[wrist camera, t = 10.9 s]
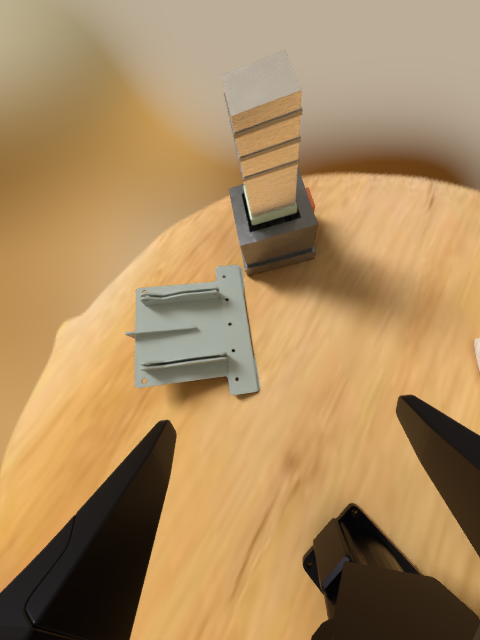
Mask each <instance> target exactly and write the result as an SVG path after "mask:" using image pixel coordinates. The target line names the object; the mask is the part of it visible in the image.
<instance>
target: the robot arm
mask: <svg viewBox="0 0 480 640" xmlns="http://www.w3.org/2000/svg"><path fill="white" fill-rule="evenodd" d="M396 414H397V417H398V419H399V421H400V423H401V425H402V427H403V429H404V431H405V433H406V435H407V437H408V439H409V441H410V443H411V445H412V447H413V449H414V451H415V453H416V455H417V457H418V459H419V460H420V462H421V464H422V466H423V467H424V469H425V471H426V472H427V474H428V475H429V477H430V479H431V480H432V482H433V483H434V485H435V487H436V488H437V490H438V491H439V493H440V495H441V496H442V498H443V499H444V501H445V503H446V504H447V506H448V507H449V509H450V511H451V512H452V514H453V515H454V517H455V519H456V520H457V522H458V523H459V525H460V527H461V528H462V530H463V531H464V533H465V535H466V536H467V538H468V539H469V541H470V543H471V544H472V546H473V547H474V549H475V551H476V552H477V554H478V555H479V557H480V435H478V434H476V433H475V432H473V431H471V430H470V429H468V428H466V427H465V426H463V425H462V424H460V423H458V422H457V421H455V420H453V419H452V418H450V417H448V416H447V415H445V414H444V413H442V412H440V411H439V410H437V409H435V408H434V407H432V406H430V405H429V404H427V403H426V402H424V401H422V400H421V399H419V398H417V397H416V396H414V395H401V396H399V397H398V402H397V407H396ZM175 443H176V431H175V429H174V427H173V425H172V424H171V422H170V421H169V420H162V421H159V422H158V423H157V424H156V425H155V426H154V427H153V428H152V429H151V431H150V432H149V433H148V434H147V435H146V436H145V437H144V438H143V439H142V441H141V442H140V443H139V444H138V445H137V446H136V447H135V448H134V449H133V451H132V452H131V453H130V454H129V455H128V456H127V457H126V458H125V459H124V461H123V462H122V463H121V464H120V465H119V466H118V467H117V468H116V469H115V471H114V472H113V473H112V474H111V475H110V476H109V477H108V478H107V480H106V481H105V482H104V483H103V484H102V485H101V486H100V487H99V488H98V490H97V491H96V492H95V493H94V494H93V495H92V496H91V497H90V498H89V500H88V501H87V502H86V503H85V504H84V505H83V506H82V507H81V508H80V510H79V511H78V512H77V513H76V515H74V516H73V517H72V518H71V520H70V521H69V522H68V523H67V524H66V525H65V526H64V527H63V528H62V529H61V531H60V532H59V533H58V534H57V535H56V536H55V537H54V538H53V539H52V540H51V541H50V543H49V544H48V545H47V546H46V547H45V548H44V549H43V550H42V551H41V552H40V553H39V554H38V555H37V556H36V557H35V558H34V559H33V560H32V561H31V562H30V563H29V564H28V565H27V567H26V568H25V569H24V570H23V571H22V572H21V573H20V574H19V575H18V576H17V577H16V578H15V579H14V580H13V581H12V582H11V583H10V584H9V585H8V586H7V587H6V588H5V589H4V590H3V591H2V592H1V593H0V640H130V636H131V632H132V628H133V624H134V620H135V616H136V612H137V608H138V604H139V600H140V596H141V592H142V588H143V584H144V580H145V576H146V572H147V568H148V564H149V560H150V556H151V552H152V548H153V544H154V540H155V536H156V532H157V528H158V524H159V520H160V516H161V512H162V508H163V504H164V500H165V496H166V492H167V488H168V484H169V479H170V475H171V469H172V462H173V456H174V449H175ZM352 510H357V513H356V514H353V513H352ZM307 562H311V563H312V565H310V566H309V565H307V564H306V563H307ZM303 568H304V570H305V571H306V572H307V574H308V575H309V576H310V578H311V579H312V580H313V582H314V583H315V584H316V586H317V587H318V588H319V590H320V591H321V592H322V594H323V595H324V598H325V603H326V609H327V615H328V620H327V621H325V622H323V623H322V624H321V625H320V627H319V628H318V629H317V631H316V632H315V633H314V634H313V636H312V638H311V640H480V620H479V617H478V616H477V615H476V614H475V613H474V612H473V611H472V610H471V609H469V608H468V607H467V606H466V605H465V604H464V603H463V602H462V601H460V600H459V599H458V598H457V597H456V596H455V595H454V594H453V593H451V592H450V591H449V590H448V589H447V588H446V587H445V586H444V585H442V584H441V583H440V582H439V581H438V580H436V579H435V578H433V577H429V576H424V575H422V574H421V573H420V572H419V571H418V570H417V569H416V568H415V567H414V566H413V565H412V564H411V562H410V561H409V560H408V559H407V558H406V557H405V556H404V555H403V554H402V553H401V552H400V551H399V550H398V549H397V547H396V546H395V545H394V544H393V543H392V542H391V541H390V540H389V539H388V538H387V537H386V536H385V535H384V534H383V532H382V531H381V530H380V529H379V528H378V527H377V526H376V525H375V524H374V523H373V522H372V521H371V520H370V518H369V517H368V516H367V515H366V514H365V513H364V512H363V511H362V510H361V509H360V508H359V507H358V506H357V505H356V504H354V503H350V504H349V505H348V506H347V507H346V508H345V509H344V510H343V512H342V513H341V514H340V515H339V516H338V517H337V518H333V519H332V520H331V521H330V522H329V523H328V524H327V525H326V526H325V528H324V529H323V530H322V531H321V532H320V533H319V534H318V536H317V537H316V538H315V539H314V540H313V546H312V547H311V548H310V549H309V550H308V551H307V553H306V554H305V555H304V556H303Z"/></svg>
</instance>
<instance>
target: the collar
mask: <svg viewBox="0 0 480 640" xmlns="http://www.w3.org/2000/svg"><path fill="white" fill-rule="evenodd" d="M243 186H244V184H242V185H239V186H236V187H233V188H230V189H229V193H230V198H231V203H232V208H233V213H234V218H235V223H236V228H237V233H238V238H239V243H240V247H241V252H242V257H243V262H244V267H245V271H246V274H247V276H248V275H252V274H256V273H260V272H264V271H268V270H272V269H276V268H280V267H283V266H287V265H291V264H295V263H299V262H303V261H307V260H311V259H314V257H315V253H316V250H315V247H314V239H315V235H316V230H317V225H318V224H317V221H316V218H315V215H314V209H315V204H314V202H313V199H312V196H311V193H310V190H309V187H308V188H305V186H304V183H303V181H302V178H301V175H300V172H299V169H298V167H297V183H296V200H295V201H296V204H297V212H296V213H295V214H292V215H288V216H285V217H281V218H278V219H274V220H271V221H268V222H264V223H261V224H257V225H252V223H251V219H250V215H249V210H248V206H247V201H246V197H245V193H244V188H243Z"/></svg>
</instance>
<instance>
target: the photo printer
mask: <svg viewBox="0 0 480 640" xmlns="http://www.w3.org/2000/svg"><path fill="white" fill-rule="evenodd" d="M474 348H475V354H476V359H477V363H478V367H479V371H480V337H479V338H476V339H475V341H474Z"/></svg>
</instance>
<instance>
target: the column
mask: <svg viewBox="0 0 480 640" xmlns="http://www.w3.org/2000/svg"><path fill="white" fill-rule="evenodd" d="M222 80H223V85H224V90H225V93H224V96H225V100H226V105H227V109H228V113H229V117H230V124H231V128H232V132H233V137H234V142H235V147H236V151H237V156H238V160H239V164H240V168H241V173H242V177H243V182H244V186H243V188H244V193H245V197H246V201H247V206H248V210H249V215H250V219H251V223H252V225H257V224H261V223H264V222H268V221H271V220H274V219H278V218H281V217H285V216H288V215H292V214H295V213H296V212H297V204H296V201H295V200H296V183H297V165H298V164H299V159H298V148H299V142H300V141H301V138H300V135H299V131H300V115H302V107H301V96H302V89H301V86H300V84H299V82H298V79H297V77H296V74H295V72H294V70H293V67H292V65H291V62H290V60H289V58H288V55H287V53H286V51H285V49H284V50H281V51H279V52H277V53H274V54H272V55H269V56H267V57H264V58H262V59H260V60H257V61H255V62H252V63H250V64H247V65H245V66H243V67H240V68H238V69H235V70H233V71H230V72H228V73H225V74H223V75H222Z"/></svg>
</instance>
